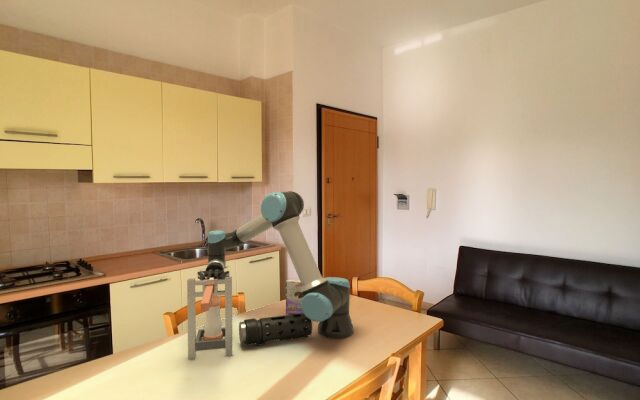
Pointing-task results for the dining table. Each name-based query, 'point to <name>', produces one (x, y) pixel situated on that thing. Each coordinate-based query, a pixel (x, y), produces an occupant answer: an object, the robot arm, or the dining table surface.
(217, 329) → the pepper shaker
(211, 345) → the grey shallow square frame
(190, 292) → the frame
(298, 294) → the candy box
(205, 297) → the bar
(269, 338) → the muzzle brake
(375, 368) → the dining table surface
